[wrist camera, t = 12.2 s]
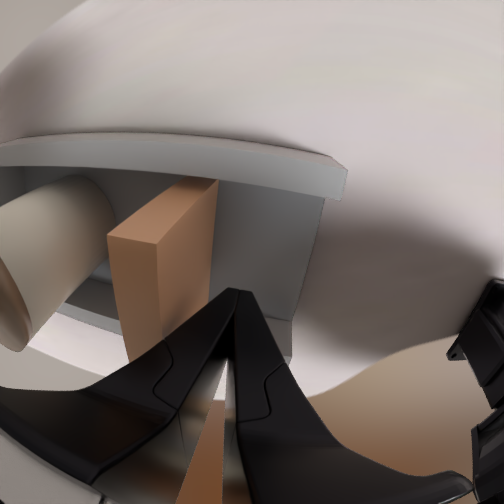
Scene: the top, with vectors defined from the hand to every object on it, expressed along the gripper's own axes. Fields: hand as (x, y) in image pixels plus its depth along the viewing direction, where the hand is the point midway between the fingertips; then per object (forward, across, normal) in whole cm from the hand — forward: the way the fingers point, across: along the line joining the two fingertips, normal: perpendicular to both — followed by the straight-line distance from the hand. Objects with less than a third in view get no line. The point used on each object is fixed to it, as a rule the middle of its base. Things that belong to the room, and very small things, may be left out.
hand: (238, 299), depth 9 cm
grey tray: (+4, +6, 0) cm, 7 cm away
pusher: (+3, +2, 0) cm, 4 cm away
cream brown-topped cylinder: (+4, +9, 0) cm, 10 cm away
